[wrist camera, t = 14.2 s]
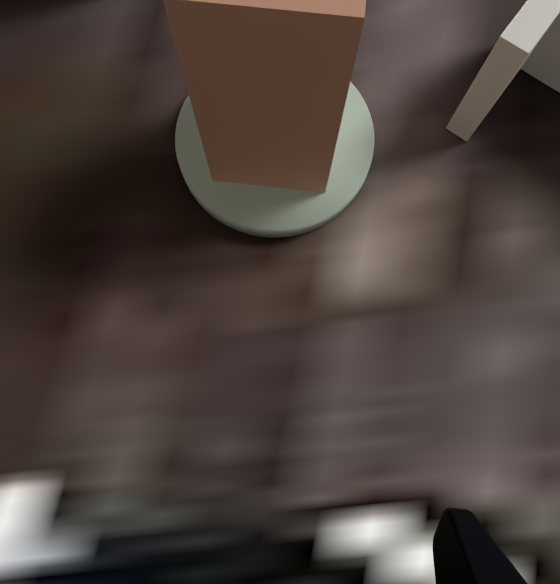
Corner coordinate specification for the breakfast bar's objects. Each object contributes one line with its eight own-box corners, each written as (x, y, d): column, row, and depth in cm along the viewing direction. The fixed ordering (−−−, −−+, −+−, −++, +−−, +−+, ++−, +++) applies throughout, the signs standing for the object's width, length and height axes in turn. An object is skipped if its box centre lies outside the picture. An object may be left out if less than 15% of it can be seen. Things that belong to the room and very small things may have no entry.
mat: (386, 223, 23) (391, 215, 22) (188, 250, 22) (185, 242, 21) (352, 54, 25) (355, 39, 24) (170, 76, 24) (166, 61, 24)
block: (325, 192, 22) (364, 17, 12) (212, 180, 22) (162, -2, 12) (334, 93, 23) (377, -139, 13) (227, 82, 23) (192, -156, 14)
